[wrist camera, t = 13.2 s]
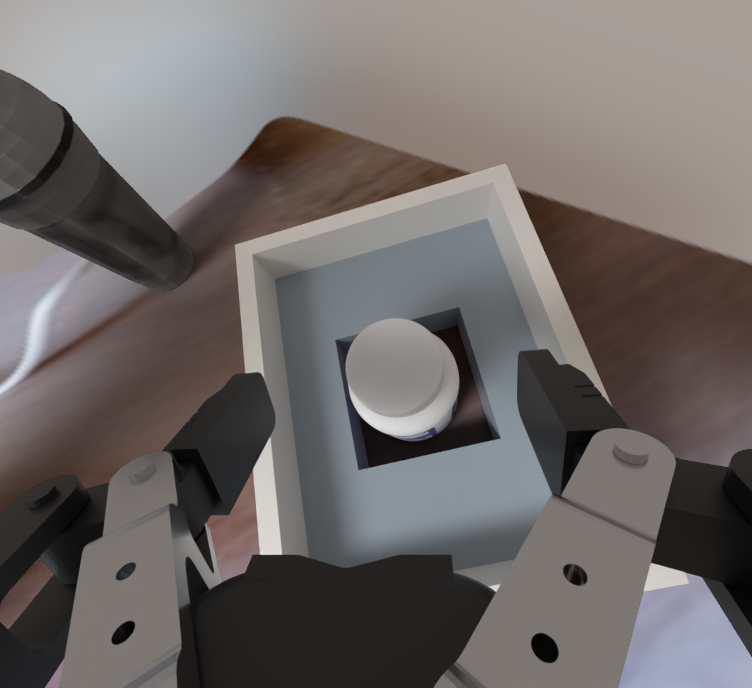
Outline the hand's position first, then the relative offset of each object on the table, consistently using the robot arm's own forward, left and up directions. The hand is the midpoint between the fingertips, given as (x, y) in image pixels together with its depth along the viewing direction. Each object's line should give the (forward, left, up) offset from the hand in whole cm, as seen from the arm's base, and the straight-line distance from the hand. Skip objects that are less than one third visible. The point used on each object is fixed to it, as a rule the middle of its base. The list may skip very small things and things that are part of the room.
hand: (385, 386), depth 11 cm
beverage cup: (-17, +17, -12) cm, 26 cm away
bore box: (0, +2, -12) cm, 12 cm away
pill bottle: (0, +2, -12) cm, 12 cm away
